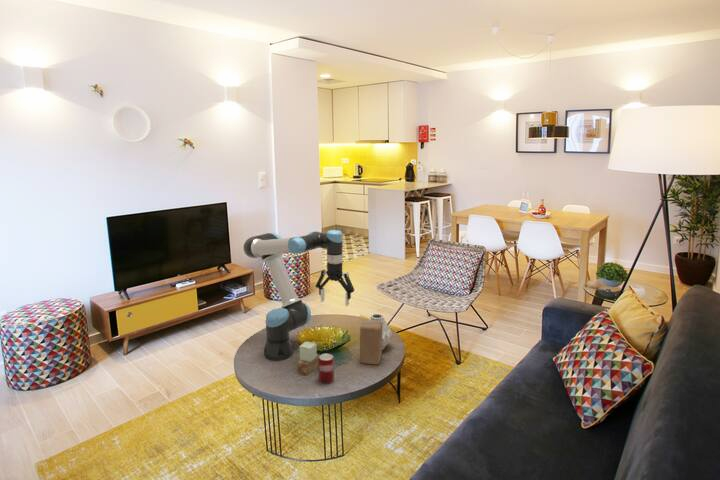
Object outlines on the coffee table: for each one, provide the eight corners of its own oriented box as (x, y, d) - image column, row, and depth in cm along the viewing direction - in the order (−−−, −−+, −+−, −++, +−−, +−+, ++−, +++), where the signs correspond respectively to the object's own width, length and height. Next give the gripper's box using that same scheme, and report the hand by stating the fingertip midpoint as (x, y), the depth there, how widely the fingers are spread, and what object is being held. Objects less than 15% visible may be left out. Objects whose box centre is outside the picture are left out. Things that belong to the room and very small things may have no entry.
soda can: (318, 376, 222) (318, 353, 219) (333, 376, 222) (333, 353, 220) (318, 384, 215) (318, 360, 212) (334, 384, 215) (334, 360, 213)
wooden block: (378, 365, 233) (379, 328, 228) (359, 363, 235) (359, 326, 230) (381, 356, 242) (382, 320, 238) (363, 354, 244) (363, 319, 240)
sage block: (299, 359, 226) (299, 346, 225) (306, 354, 232) (305, 341, 230) (310, 361, 224) (310, 348, 222) (316, 356, 229) (316, 343, 228)
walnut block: (298, 373, 224) (297, 362, 223) (310, 363, 235) (310, 352, 234) (307, 376, 222) (306, 364, 221) (319, 365, 233) (318, 354, 232)
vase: (359, 353, 245) (359, 320, 241) (364, 340, 261) (364, 309, 257) (390, 356, 243) (390, 323, 238) (393, 342, 258) (393, 311, 254)
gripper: (308, 261, 228) (309, 301, 233) (355, 267, 219) (354, 309, 223) (315, 257, 235) (316, 297, 239) (361, 263, 225) (360, 304, 230)
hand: (334, 303), depth 231 cm, fingers open, 13 cm apart
